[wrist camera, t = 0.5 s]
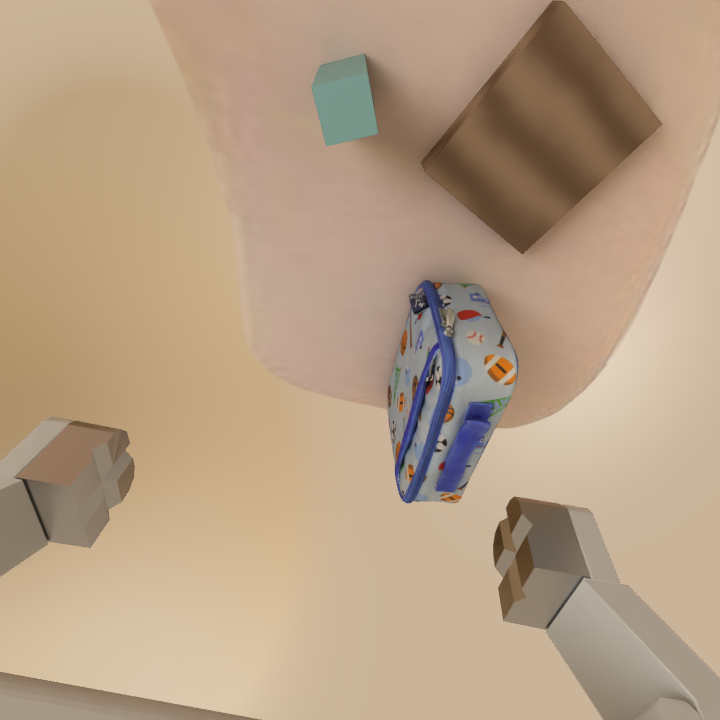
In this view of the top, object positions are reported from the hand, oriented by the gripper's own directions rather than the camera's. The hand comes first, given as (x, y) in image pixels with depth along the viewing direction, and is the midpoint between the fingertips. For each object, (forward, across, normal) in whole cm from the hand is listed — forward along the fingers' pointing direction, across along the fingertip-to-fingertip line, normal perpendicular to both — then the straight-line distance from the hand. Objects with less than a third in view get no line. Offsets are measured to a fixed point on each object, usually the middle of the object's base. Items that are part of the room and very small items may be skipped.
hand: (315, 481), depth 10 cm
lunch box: (+52, -9, +26) cm, 59 cm away
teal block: (+47, +6, -5) cm, 48 cm away
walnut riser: (+50, -14, -2) cm, 52 cm away
